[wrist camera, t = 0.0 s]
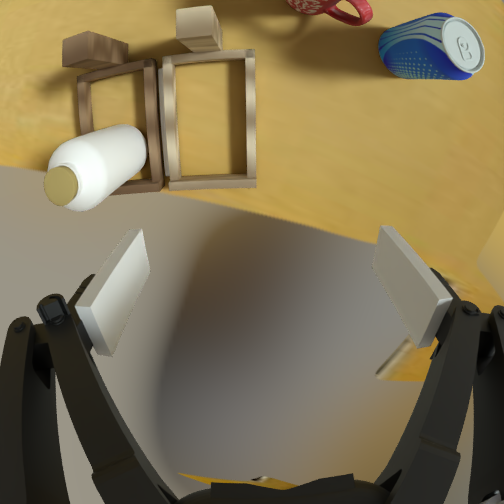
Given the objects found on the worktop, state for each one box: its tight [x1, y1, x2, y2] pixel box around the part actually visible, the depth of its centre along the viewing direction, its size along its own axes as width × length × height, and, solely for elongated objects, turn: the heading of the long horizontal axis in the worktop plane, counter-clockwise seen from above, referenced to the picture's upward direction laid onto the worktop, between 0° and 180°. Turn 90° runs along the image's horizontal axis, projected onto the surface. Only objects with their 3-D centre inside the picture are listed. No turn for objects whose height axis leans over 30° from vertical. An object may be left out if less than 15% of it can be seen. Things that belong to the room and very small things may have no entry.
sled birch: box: [163, 5, 256, 191], centre depth 31 cm, size 22×12×12 cm, turn 1°
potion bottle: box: [44, 124, 148, 212], centre depth 31 cm, size 8×8×18 cm
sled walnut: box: [62, 31, 165, 195], centre depth 31 cm, size 22×12×12 cm, turn 1°
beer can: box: [378, 13, 485, 80], centre depth 25 cm, size 8×8×16 cm
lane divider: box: [158, 68, 170, 176], centre depth 37 cm, size 16×1×1 cm, turn 1°
